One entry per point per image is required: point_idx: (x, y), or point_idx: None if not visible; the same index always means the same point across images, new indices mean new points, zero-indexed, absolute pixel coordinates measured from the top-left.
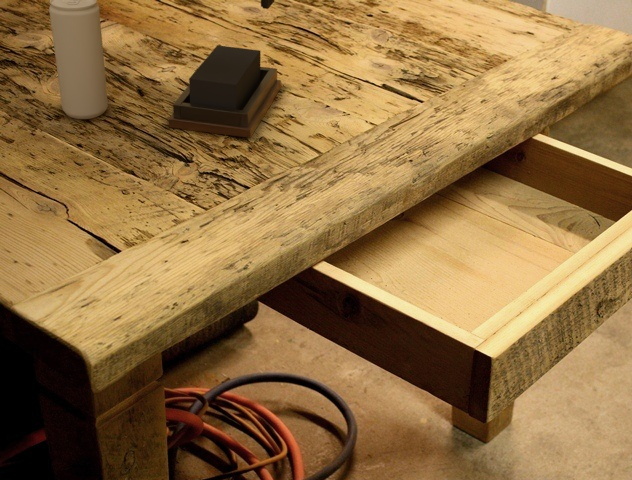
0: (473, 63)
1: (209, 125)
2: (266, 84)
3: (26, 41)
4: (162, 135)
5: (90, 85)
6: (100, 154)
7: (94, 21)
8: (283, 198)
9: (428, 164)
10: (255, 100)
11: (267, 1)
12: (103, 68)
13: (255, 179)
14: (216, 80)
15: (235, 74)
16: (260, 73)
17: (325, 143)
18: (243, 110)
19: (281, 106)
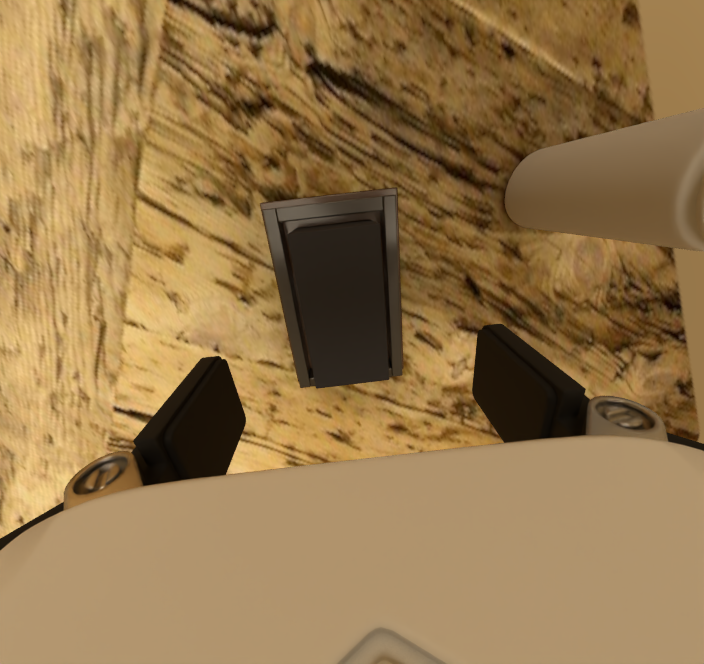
0: None
1: (328, 195)
2: (288, 331)
3: (661, 371)
4: (393, 155)
5: (554, 156)
6: (465, 29)
7: (659, 166)
8: None
9: None
10: (276, 269)
11: (195, 367)
12: (549, 197)
13: (178, 43)
14: (328, 237)
15: (309, 279)
16: None
17: (154, 235)
18: (275, 221)
19: (273, 325)
